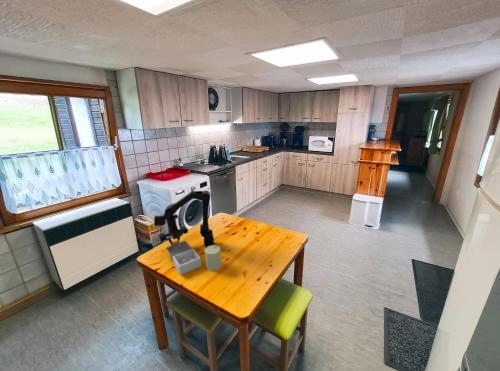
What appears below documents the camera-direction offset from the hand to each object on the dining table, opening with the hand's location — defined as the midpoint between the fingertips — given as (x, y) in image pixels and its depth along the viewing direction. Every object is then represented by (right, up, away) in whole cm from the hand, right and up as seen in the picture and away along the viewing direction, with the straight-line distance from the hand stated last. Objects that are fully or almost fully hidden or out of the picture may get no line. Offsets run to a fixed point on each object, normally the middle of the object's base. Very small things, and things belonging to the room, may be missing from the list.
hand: (175, 244), depth 150 cm
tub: (+13, -8, -16) cm, 23 cm away
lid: (+4, -1, -5) cm, 6 cm away
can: (+30, -8, -17) cm, 35 cm away
